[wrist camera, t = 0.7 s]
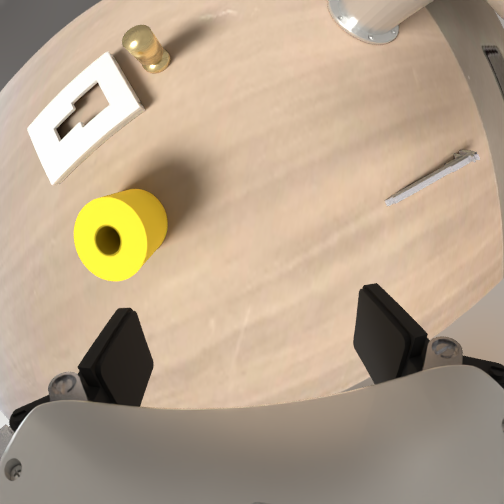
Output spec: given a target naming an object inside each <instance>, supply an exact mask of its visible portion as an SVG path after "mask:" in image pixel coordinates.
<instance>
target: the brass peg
mask: <svg viewBox="0 0 504 504" xmlns="http://www.w3.org/2000/svg"><path fill="white" fill-rule="evenodd" d="M122 44H123V46H124V47H125V48H126V49H127V50H128V51H129V52H130V53H131V54H132V55H133V56H134V57H135V58H136V59H137V60H138V61H139V62H140V63H141V64H142V66H143V68H144V69H145V70H146V71H147V72H149V73H159V72H162V71H163V70H165V69H166V68H167V67H168V65H169V63H170V55H169V53H168V52H167V51H166V50H165V49H163V47H162V46H161V44H160V43H159V41H158V40H157V38H156V37H155V35H154V34H153V32H152V31H151V29H150V28H149V27H148V26H146V25H138V26H135V27H133V28H131V29H129V30H128V31H127V32H126V33H125V35H124V36H123V39H122Z"/></svg>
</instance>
